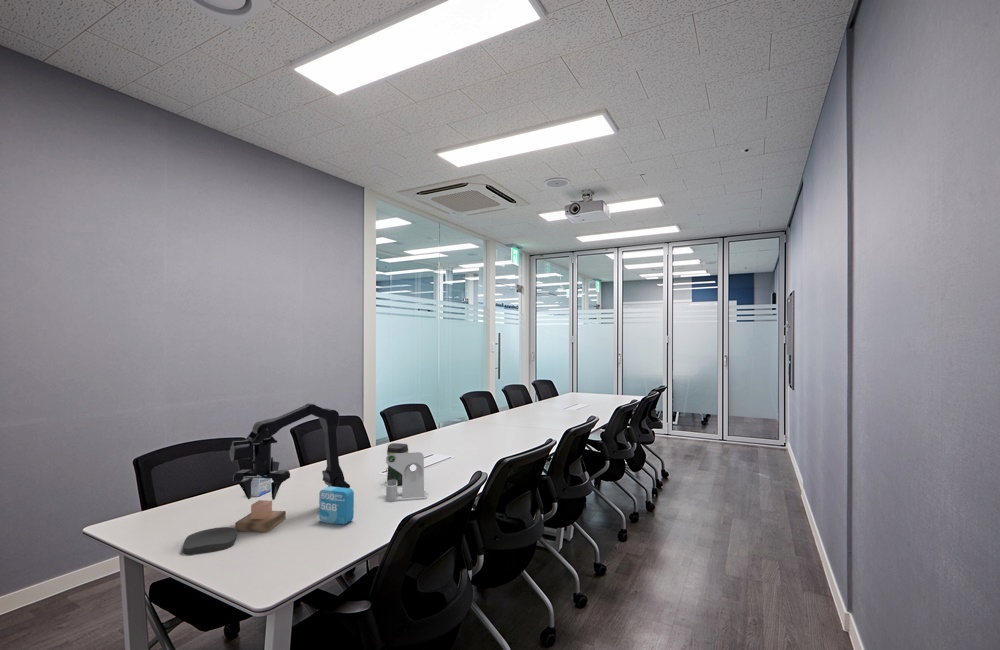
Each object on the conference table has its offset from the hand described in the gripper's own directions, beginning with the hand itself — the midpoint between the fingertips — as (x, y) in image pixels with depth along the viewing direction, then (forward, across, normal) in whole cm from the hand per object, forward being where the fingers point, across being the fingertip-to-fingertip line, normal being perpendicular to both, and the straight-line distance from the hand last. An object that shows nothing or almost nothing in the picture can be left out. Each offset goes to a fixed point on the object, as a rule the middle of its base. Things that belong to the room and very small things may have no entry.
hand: (261, 499), depth 172 cm
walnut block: (+9, 0, 0) cm, 9 cm away
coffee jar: (+9, -36, -53) cm, 65 cm away
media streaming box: (+10, +8, +16) cm, 20 cm away
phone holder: (+9, -45, -34) cm, 57 cm away
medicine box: (+10, +20, -34) cm, 41 cm away
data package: (+10, -26, -5) cm, 28 cm away
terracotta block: (+6, 0, 0) cm, 6 cm away
